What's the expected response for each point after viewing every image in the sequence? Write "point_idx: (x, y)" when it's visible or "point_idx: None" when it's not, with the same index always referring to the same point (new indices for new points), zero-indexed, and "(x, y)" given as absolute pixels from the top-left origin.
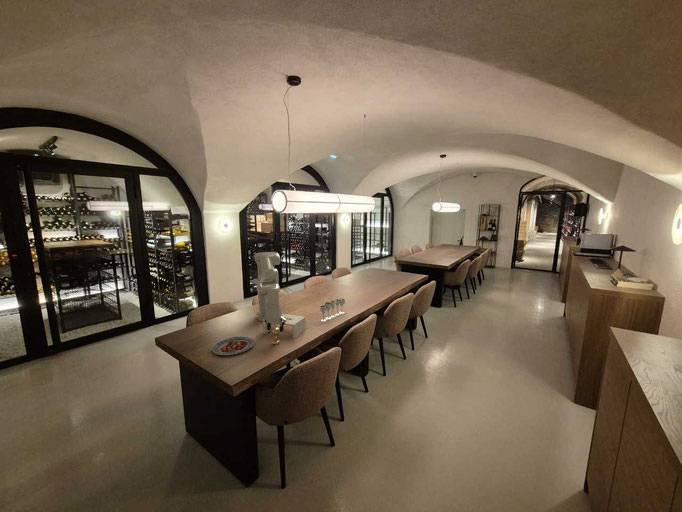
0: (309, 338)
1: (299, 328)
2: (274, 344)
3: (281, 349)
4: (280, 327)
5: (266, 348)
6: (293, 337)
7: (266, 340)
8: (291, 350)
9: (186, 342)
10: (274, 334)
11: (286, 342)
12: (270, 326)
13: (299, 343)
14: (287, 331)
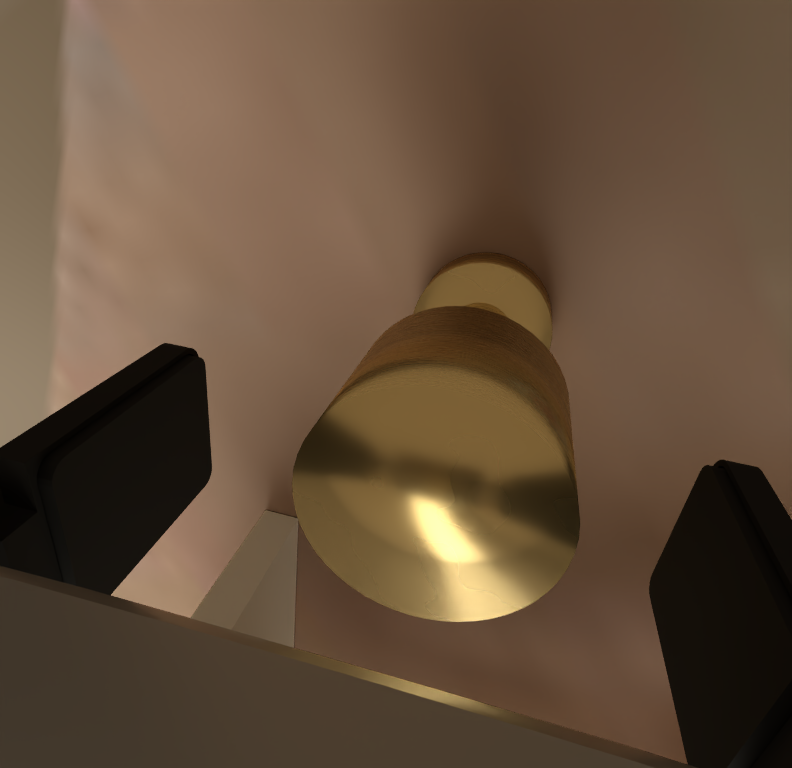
0: None
1: None
2: (488, 255)
3: (262, 87)
4: (35, 428)
5: (611, 48)
6: (283, 522)
7: (744, 421)
8: (75, 93)
9: None
10: (431, 324)
11: (318, 377)
12: (675, 646)
13: (115, 364)
14: (476, 696)
